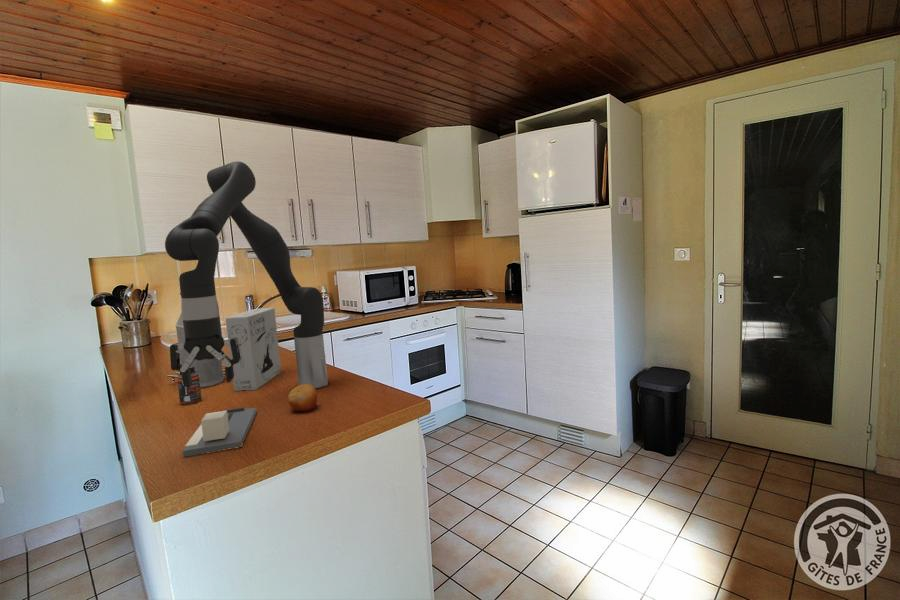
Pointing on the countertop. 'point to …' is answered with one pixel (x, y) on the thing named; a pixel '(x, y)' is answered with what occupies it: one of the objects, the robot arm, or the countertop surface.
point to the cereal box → (254, 347)
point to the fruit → (303, 398)
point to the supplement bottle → (189, 388)
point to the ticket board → (234, 438)
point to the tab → (215, 425)
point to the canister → (200, 362)
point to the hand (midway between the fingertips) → (209, 384)
